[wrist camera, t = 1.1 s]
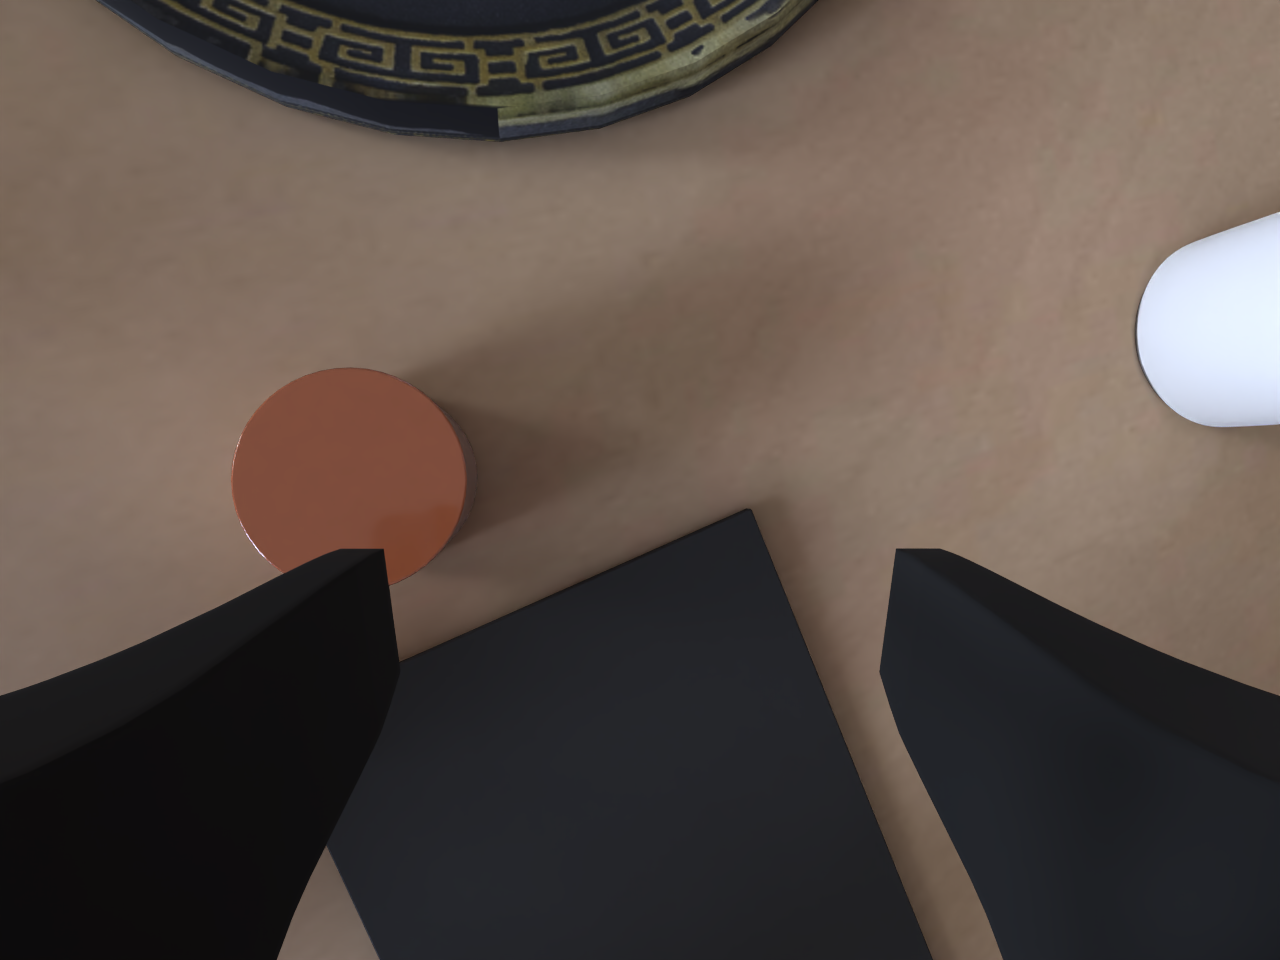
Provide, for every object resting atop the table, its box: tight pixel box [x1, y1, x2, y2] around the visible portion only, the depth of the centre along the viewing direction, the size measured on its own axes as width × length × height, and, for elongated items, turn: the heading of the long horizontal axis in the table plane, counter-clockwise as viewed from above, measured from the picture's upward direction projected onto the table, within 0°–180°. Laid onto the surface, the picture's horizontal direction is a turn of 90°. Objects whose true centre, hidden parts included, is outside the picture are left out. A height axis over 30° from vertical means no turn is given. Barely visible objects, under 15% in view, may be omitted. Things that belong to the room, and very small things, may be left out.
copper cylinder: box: [231, 368, 477, 585], centre depth 19 cm, size 5×5×5 cm
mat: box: [326, 509, 933, 960], centre depth 23 cm, size 15×20×1 cm
